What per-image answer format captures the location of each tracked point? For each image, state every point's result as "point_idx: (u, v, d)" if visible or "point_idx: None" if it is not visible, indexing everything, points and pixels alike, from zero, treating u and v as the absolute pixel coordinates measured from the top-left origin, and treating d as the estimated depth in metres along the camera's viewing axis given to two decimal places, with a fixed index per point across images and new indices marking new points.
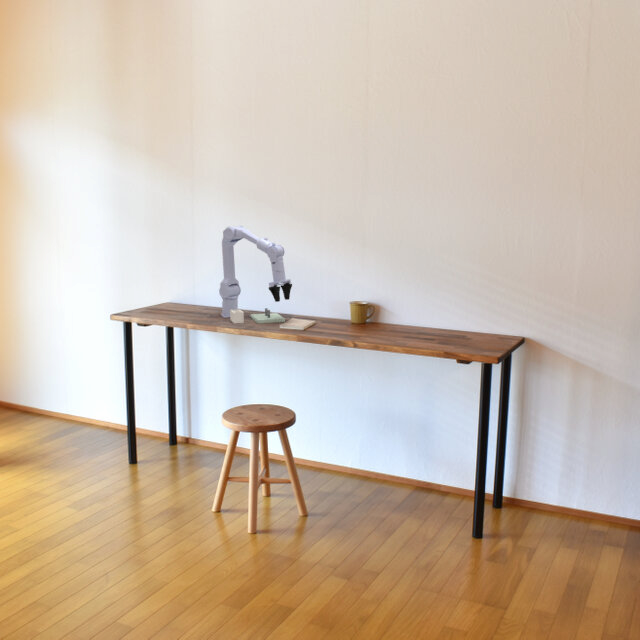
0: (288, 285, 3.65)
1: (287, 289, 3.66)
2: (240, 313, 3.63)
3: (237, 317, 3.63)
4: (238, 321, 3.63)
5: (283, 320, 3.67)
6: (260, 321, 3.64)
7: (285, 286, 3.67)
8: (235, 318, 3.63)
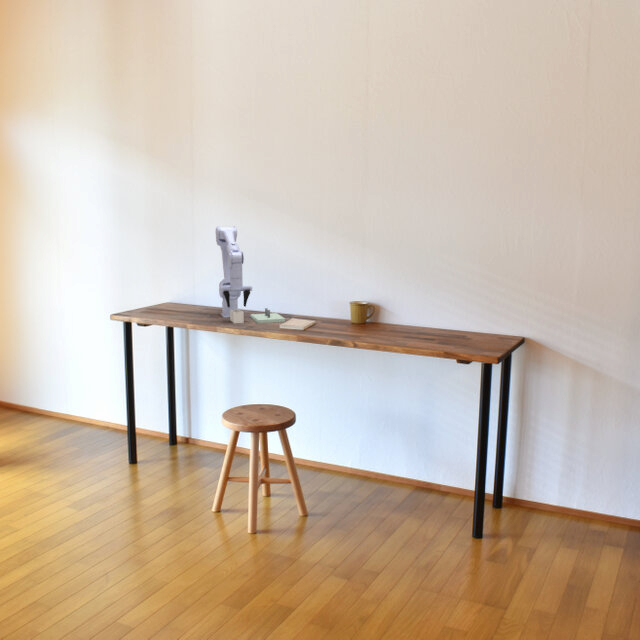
0: (245, 293, 3.65)
1: (244, 296, 3.66)
2: (240, 313, 3.63)
3: (237, 317, 3.63)
4: (238, 321, 3.63)
5: (283, 320, 3.67)
6: (260, 321, 3.64)
7: (244, 293, 3.66)
8: (235, 318, 3.63)
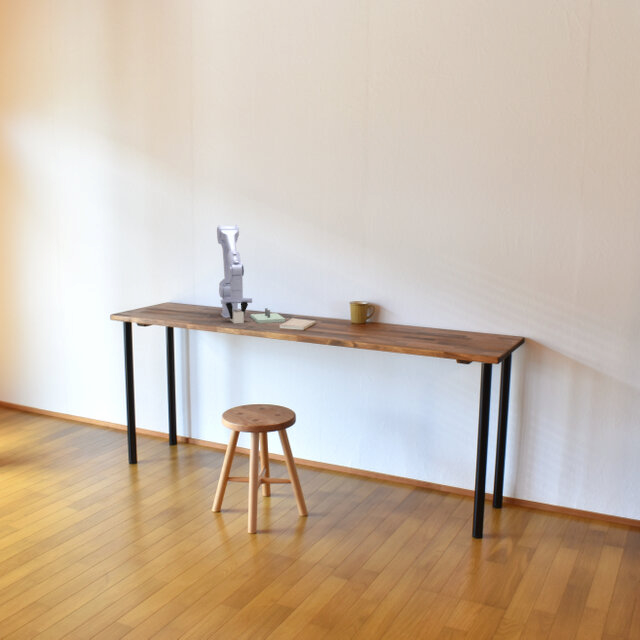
0: (242, 305, 3.65)
1: (242, 308, 3.66)
2: (240, 313, 3.63)
3: (237, 317, 3.63)
4: (238, 321, 3.63)
5: (283, 320, 3.67)
6: (260, 321, 3.64)
7: (241, 305, 3.67)
8: (235, 318, 3.63)
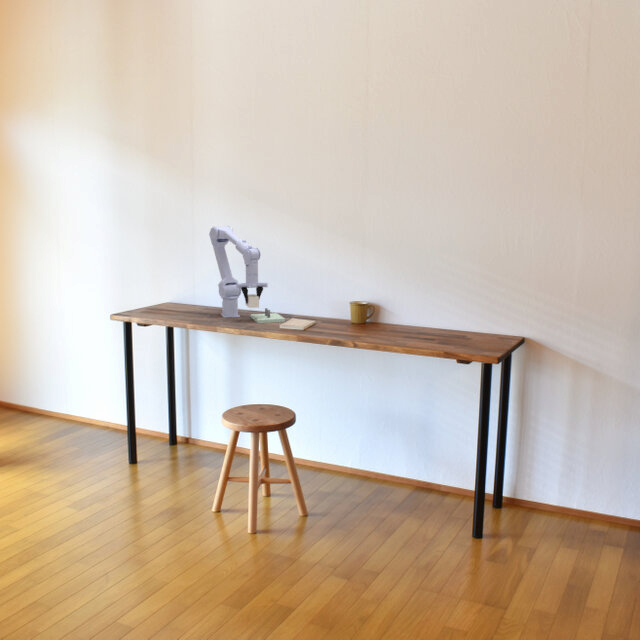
0: (258, 289, 3.67)
1: (257, 293, 3.68)
2: (255, 297, 3.64)
3: (252, 301, 3.64)
4: (253, 305, 3.65)
5: (283, 320, 3.67)
6: (260, 321, 3.64)
7: (257, 289, 3.68)
8: (250, 302, 3.64)
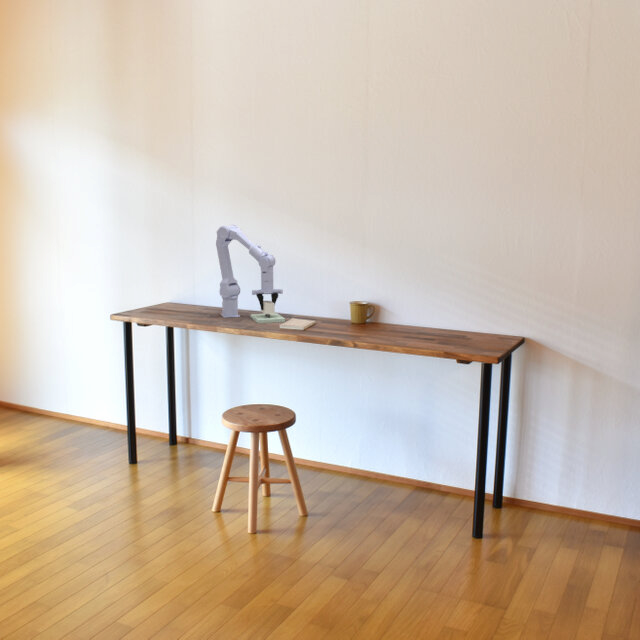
0: (273, 296, 3.70)
1: (273, 299, 3.71)
2: (271, 304, 3.68)
3: (268, 308, 3.67)
4: (269, 312, 3.68)
5: (283, 320, 3.67)
6: (260, 321, 3.64)
7: (272, 296, 3.72)
8: (266, 309, 3.67)
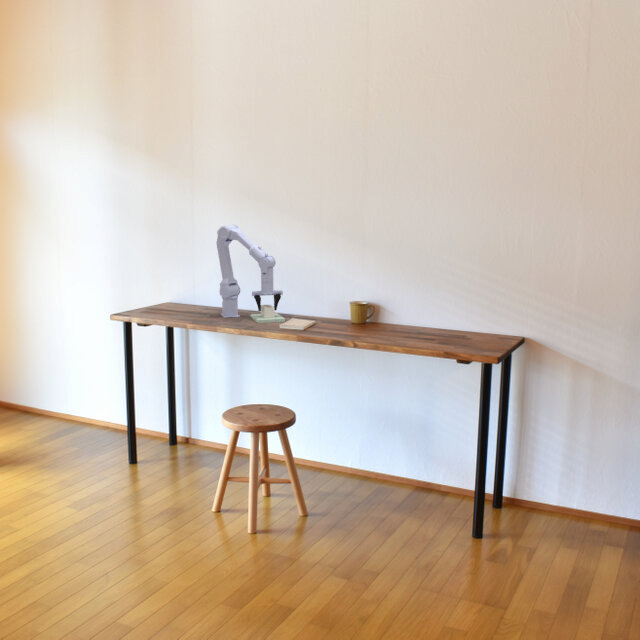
0: (276, 297, 3.71)
1: (275, 300, 3.72)
2: (271, 308, 3.68)
3: (268, 312, 3.68)
4: (269, 316, 3.68)
5: (283, 320, 3.67)
6: (260, 321, 3.64)
7: (275, 297, 3.72)
8: (266, 313, 3.68)
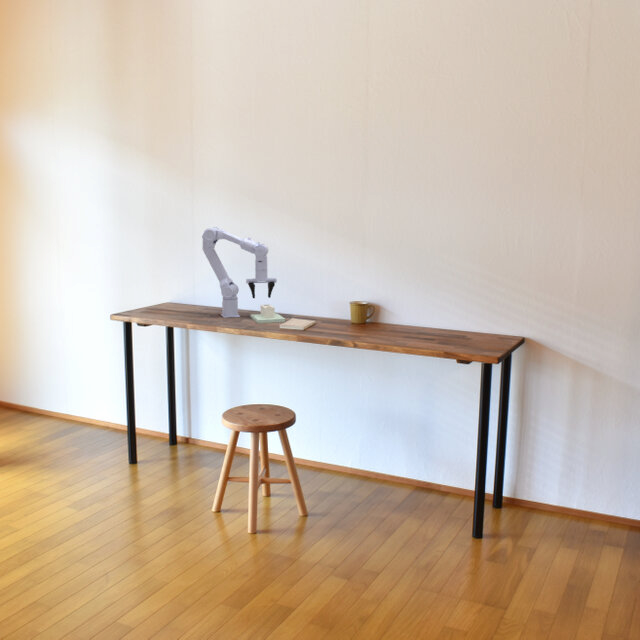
0: (269, 284, 3.77)
1: (269, 288, 3.78)
2: (271, 308, 3.68)
3: (268, 312, 3.68)
4: (269, 316, 3.68)
5: (283, 320, 3.67)
6: (260, 321, 3.64)
7: (269, 284, 3.79)
8: (266, 313, 3.68)
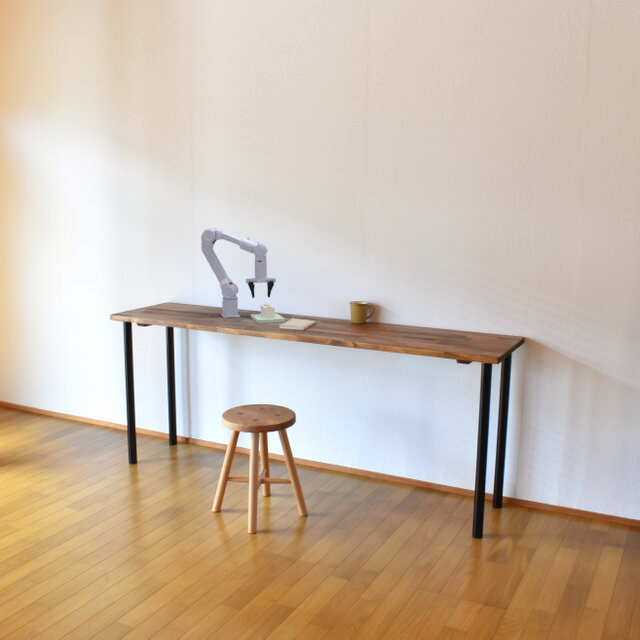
0: (269, 284, 3.78)
1: (268, 287, 3.79)
2: (271, 308, 3.68)
3: (268, 312, 3.68)
4: (269, 316, 3.68)
5: (283, 320, 3.67)
6: (260, 321, 3.64)
7: (268, 284, 3.79)
8: (266, 313, 3.68)
